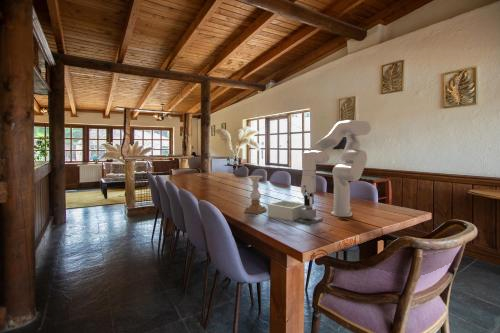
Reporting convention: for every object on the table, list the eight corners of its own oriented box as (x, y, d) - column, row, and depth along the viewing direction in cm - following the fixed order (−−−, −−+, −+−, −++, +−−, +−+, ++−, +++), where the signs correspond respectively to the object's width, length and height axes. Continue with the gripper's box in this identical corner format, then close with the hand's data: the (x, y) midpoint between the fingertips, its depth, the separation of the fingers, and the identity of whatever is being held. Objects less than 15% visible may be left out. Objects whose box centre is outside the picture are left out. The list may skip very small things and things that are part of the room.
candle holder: (253, 209, 191) (253, 175, 189) (266, 211, 185) (266, 175, 183) (244, 212, 182) (243, 176, 180) (257, 214, 176) (257, 177, 174)
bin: (283, 212, 181) (283, 200, 180) (307, 216, 168) (307, 204, 168) (268, 216, 169) (267, 204, 169) (292, 222, 157) (292, 208, 156)
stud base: (307, 217, 167) (307, 207, 167) (322, 220, 160) (322, 209, 160) (294, 222, 157) (294, 211, 157) (309, 225, 150) (309, 214, 150)
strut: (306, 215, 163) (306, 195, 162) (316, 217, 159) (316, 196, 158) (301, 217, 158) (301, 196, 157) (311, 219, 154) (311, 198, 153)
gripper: (310, 171, 165) (310, 201, 167) (295, 173, 153) (295, 206, 154) (321, 172, 161) (321, 203, 162) (307, 174, 148) (307, 208, 149)
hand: (308, 204), depth 158 cm, fingers closed on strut, 4 cm apart
